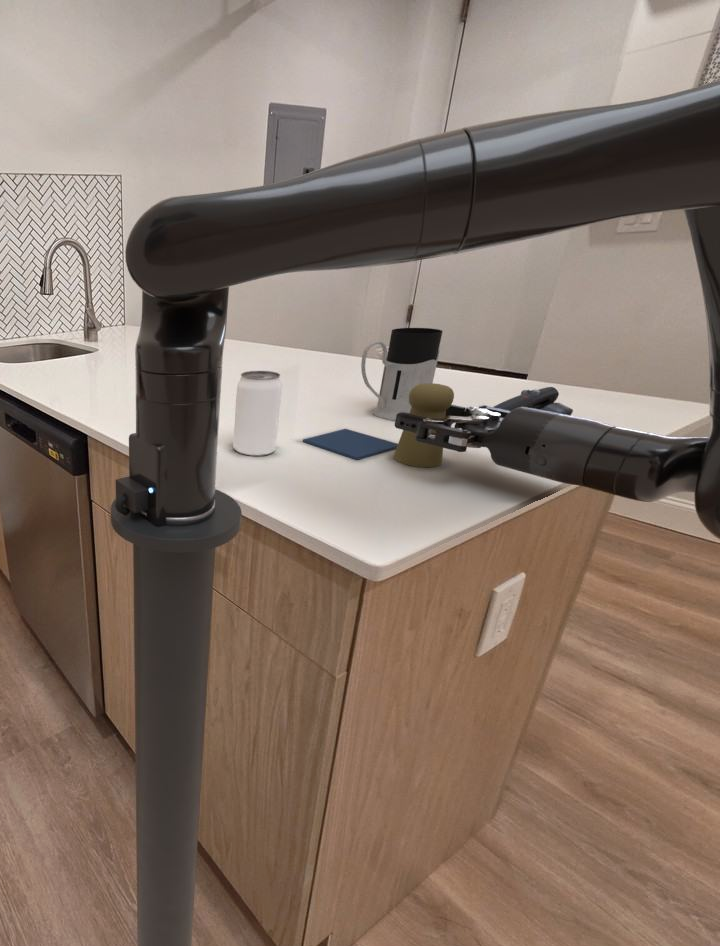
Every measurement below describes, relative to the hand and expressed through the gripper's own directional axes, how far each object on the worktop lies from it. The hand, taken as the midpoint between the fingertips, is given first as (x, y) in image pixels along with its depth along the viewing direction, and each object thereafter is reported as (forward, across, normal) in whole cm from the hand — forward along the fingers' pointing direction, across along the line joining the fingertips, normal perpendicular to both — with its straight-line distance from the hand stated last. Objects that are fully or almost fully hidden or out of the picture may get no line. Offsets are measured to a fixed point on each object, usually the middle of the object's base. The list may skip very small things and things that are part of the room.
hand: (416, 414), depth 74 cm
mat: (+8, +2, +6) cm, 11 cm away
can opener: (0, -28, +7) cm, 29 cm away
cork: (-1, 0, +7) cm, 7 cm away
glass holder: (+15, -16, +7) cm, 23 cm away
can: (+14, +16, +7) cm, 23 cm away
